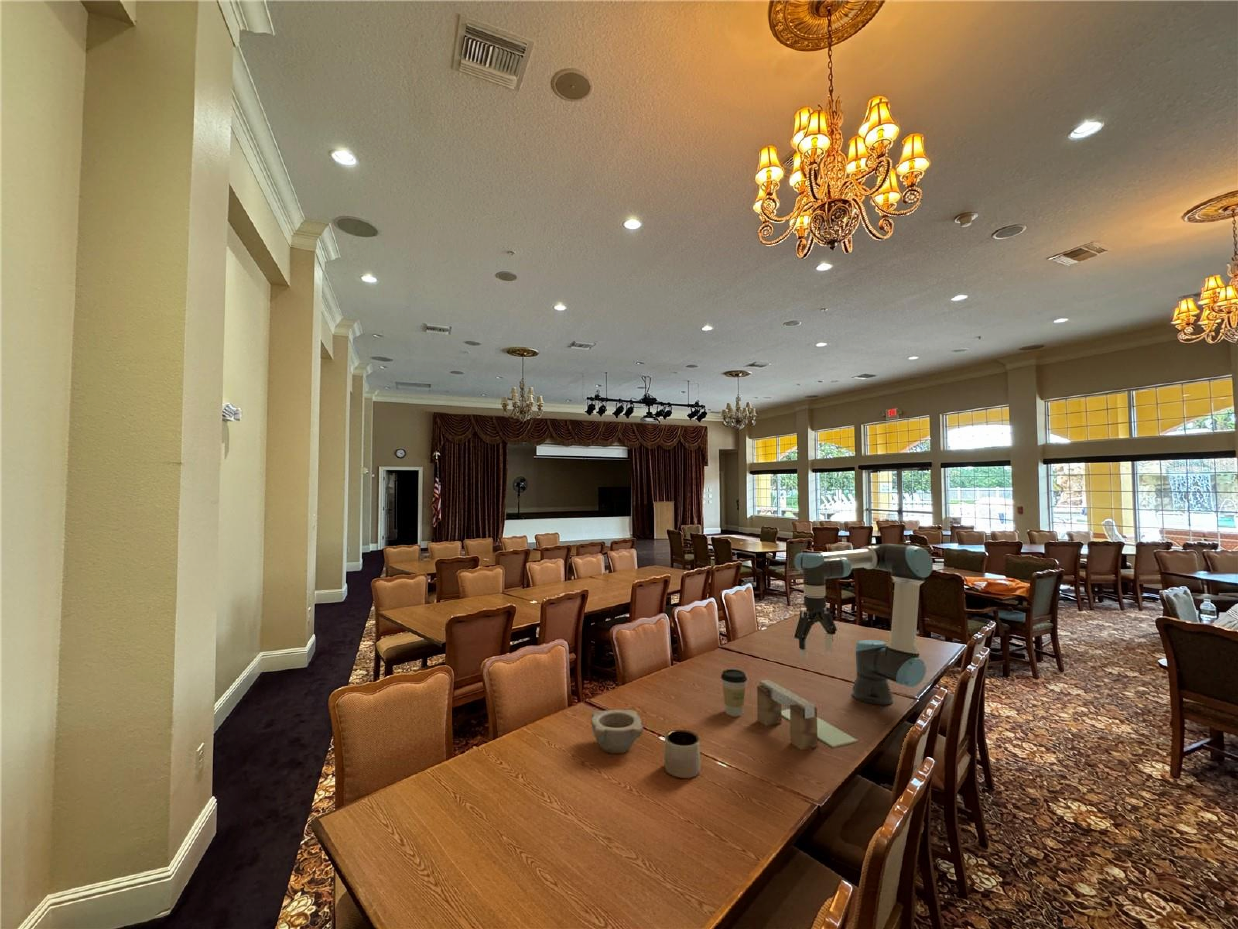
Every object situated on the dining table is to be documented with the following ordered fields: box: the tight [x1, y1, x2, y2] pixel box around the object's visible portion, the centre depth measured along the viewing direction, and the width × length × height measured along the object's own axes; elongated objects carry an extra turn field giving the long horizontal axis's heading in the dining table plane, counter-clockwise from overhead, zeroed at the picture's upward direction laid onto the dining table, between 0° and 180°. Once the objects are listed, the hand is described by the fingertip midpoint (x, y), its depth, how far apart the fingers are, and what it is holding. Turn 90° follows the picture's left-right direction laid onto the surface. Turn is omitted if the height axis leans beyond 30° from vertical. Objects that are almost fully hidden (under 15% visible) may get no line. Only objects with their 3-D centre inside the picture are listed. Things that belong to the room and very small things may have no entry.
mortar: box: [590, 709, 644, 754], centre depth 163 cm, size 17×17×9 cm
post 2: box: [789, 705, 819, 751], centre depth 165 cm, size 7×5×12 cm
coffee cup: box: [720, 668, 748, 717], centre depth 189 cm, size 10×10×15 cm
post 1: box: [756, 685, 783, 727], centre depth 182 cm, size 7×5×12 cm
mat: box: [781, 708, 858, 748], centre depth 178 cm, size 11×28×1 cm, turn 21°
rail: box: [759, 679, 815, 719], centre depth 174 cm, size 24×4×4 cm, turn 21°
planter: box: [664, 729, 701, 779], centre depth 150 cm, size 11×11×10 cm
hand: (816, 655), depth 178 cm, fingers open, 13 cm apart
